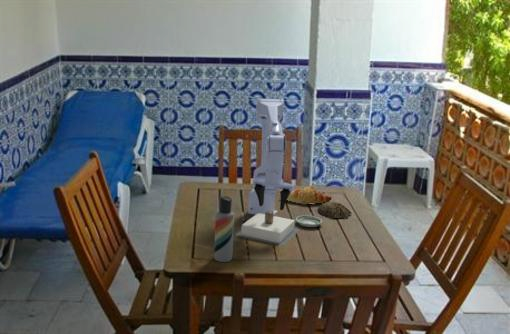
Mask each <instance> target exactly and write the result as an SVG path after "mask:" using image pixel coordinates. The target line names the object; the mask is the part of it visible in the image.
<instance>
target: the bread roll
mask: <svg viewBox="0 0 510 334" xmlns="http://www.w3.org/2000/svg"><path fill="white" fill-rule="evenodd" d="M319 205H320V206H318V208H317V212H318V213H319V212H320V213H319V214H321V213H322V214H323V215H322V214H321V215H322V216H324V215H326V216H325V217H327V216H328V217H327V218H329V217H331V218H330V219H333V218H337V219H344V218H348V217H349V215H350V214H351V215H352V211H351V210H350V209H349V208H348V207H346V206H345V205H344V204H342V203H339V202H335V201H328V202H326V203H322V204H319ZM349 218H350V217H349ZM349 218H348V219H349Z"/></svg>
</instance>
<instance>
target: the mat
mask: <svg viewBox="0 0 510 334" xmlns="http://www.w3.org/2000/svg"><path fill="white" fill-rule="evenodd" d="M300 231H301V229H300V228H296V227H294V230H293V231H292V232H291V233H290V234H289V235H288V236H287V237H286V238H285V239H284V240H283V241H281V242H280V243H277V242H272V241H268V240H263V239H259V238H254V237H250V236H245V235H241V232H242V229H240V230H239V231H238V232H237V233H234V236H236V237H237V236H238V237H243V238H247V239H251V240H256V241H260V242H264V243H269V244H273V245H278V246H283V247H284V246H285V245H286V244H287V243H288V242H289V241H290V240H291V239H292V238H294V236H295V235H296V234H297V233H299V232H300Z"/></svg>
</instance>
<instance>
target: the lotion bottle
mask: <svg viewBox="0 0 510 334" xmlns="http://www.w3.org/2000/svg"><path fill="white" fill-rule="evenodd" d="M218 201H219V202H218V210H217V211H216V212H215V215H214V216H215V219H214V221H215V222H214V223H215V224H214V245H213V246H214V247H213V248H214V249H213V250H214V251H213V258H214V260H215V261H217V262H220V263H226V262H231V261H232V259H233V248H234V229H235V212H234V211H232V206H233V203H232V201H233V199H232V198H231V197H230V196H227V195H225V196H223V195H221V196H220V197H219V199H218Z"/></svg>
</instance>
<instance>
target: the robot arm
mask: <svg viewBox="0 0 510 334" xmlns="http://www.w3.org/2000/svg"><path fill="white" fill-rule="evenodd" d="M255 105H256V106H255V108H256V109H255V111H256V112H255V113H256V114H255V117H256V121H257V122H259V123H260V125H261V159H260V160H261V161H260V162H261V163H260V166H259V167H257V168H255V169H254V171H253V178H252V188H253V189H251V190H250V193H249V197H248V211H247V214H251V215H254V216H255V215H256V214H257V213H261V214H265V212H266V211H273V212H274V215H276V214H277V213H278V210H275V202H276V200H275V199H276V193H277V192H278V191H279V190H280V191H279V193H280V194H279V195H280V204H279V210H280V211H283V210H285V205H286V202H287V201H286V200H287V198H288V196H289V194H290V192H291V191H294V190H295V184H293V183H292V184H291V183H288V182H284V181H283V180H282V179H283V170H284V169H283V168H284V167H283V166H284V154H285V152H286V149H287V138H286V135H285V133H283V126H282V123H281V120H282V117H283V115H284V108H285V106H284V105H285V104H284V100H283V99H282V98H279V99H276V98H275V99H274V98H260V97H258V98H257V99H256V104H255Z"/></svg>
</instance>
